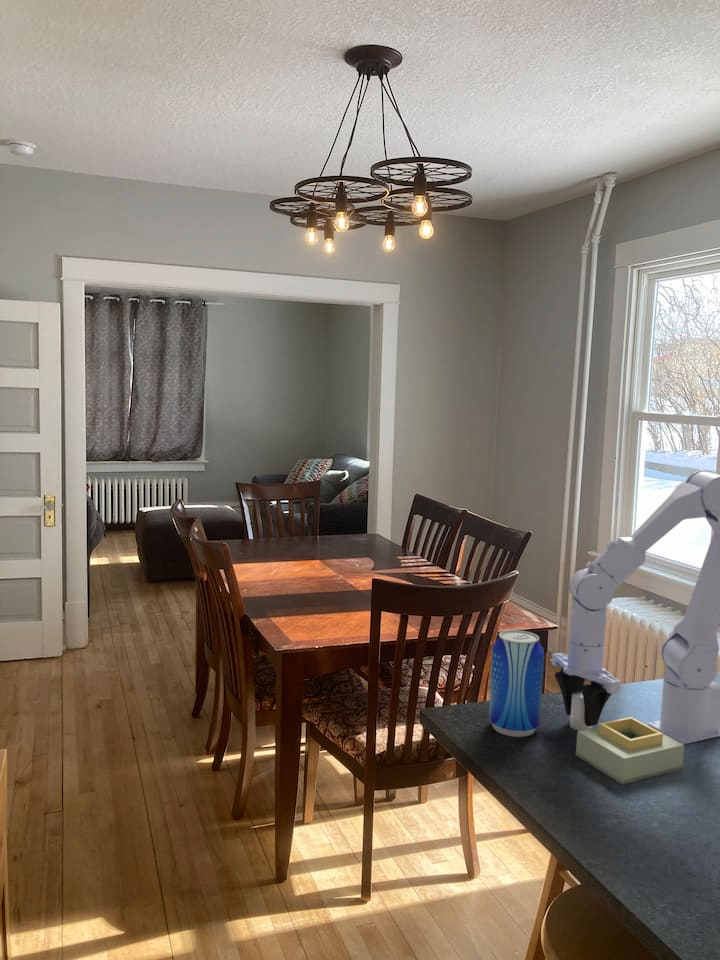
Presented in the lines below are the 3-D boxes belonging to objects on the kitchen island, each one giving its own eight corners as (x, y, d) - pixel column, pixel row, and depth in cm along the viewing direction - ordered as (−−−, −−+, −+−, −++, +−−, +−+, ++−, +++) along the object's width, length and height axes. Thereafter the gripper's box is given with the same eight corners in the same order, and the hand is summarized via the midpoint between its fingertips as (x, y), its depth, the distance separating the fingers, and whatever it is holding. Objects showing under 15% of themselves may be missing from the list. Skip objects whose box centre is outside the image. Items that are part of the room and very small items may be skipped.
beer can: (539, 741, 130) (545, 646, 128) (487, 735, 132) (492, 641, 130) (538, 720, 138) (544, 630, 136) (489, 715, 140) (494, 626, 138)
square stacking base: (633, 742, 131) (635, 710, 130) (682, 769, 122) (685, 735, 121) (575, 755, 126) (578, 721, 125) (622, 784, 117) (624, 748, 116)
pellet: (581, 721, 139) (584, 690, 138) (596, 729, 135) (598, 698, 135) (565, 724, 137) (567, 693, 136) (579, 733, 134) (581, 701, 133)
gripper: (540, 631, 139) (535, 706, 141) (598, 658, 126) (592, 740, 128) (571, 627, 142) (567, 700, 144) (632, 652, 129) (626, 733, 131)
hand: (581, 719), depth 136 cm, fingers open, 4 cm apart
